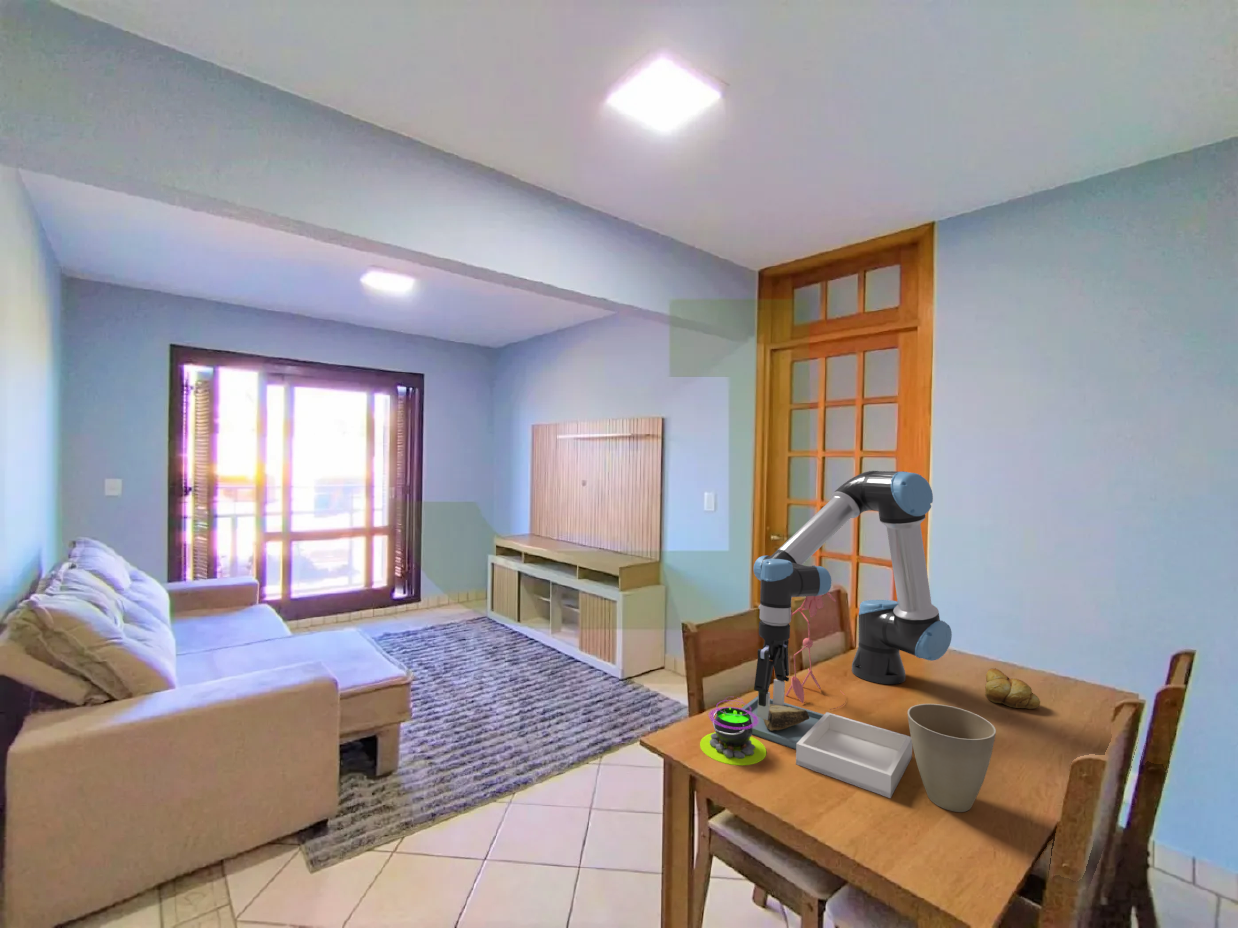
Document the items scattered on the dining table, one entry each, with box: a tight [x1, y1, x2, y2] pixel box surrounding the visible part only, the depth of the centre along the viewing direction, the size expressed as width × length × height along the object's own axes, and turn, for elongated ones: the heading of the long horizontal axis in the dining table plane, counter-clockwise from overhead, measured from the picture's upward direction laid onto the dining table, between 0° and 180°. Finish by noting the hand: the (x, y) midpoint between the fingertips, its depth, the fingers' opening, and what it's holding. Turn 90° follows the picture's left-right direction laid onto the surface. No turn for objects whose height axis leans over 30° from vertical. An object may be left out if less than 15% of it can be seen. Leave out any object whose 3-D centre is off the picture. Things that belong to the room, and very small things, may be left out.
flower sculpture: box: [785, 591, 846, 711], centre depth 156 cm, size 15×26×35 cm, turn 135°
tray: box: [740, 695, 825, 751], centre depth 141 cm, size 19×19×2 cm
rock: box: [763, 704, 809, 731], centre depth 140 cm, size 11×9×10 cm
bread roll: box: [984, 667, 1041, 710], centre depth 155 cm, size 13×10×8 cm
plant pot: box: [907, 703, 997, 813], centre depth 110 cm, size 15×15×16 cm
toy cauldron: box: [699, 696, 767, 766], centre depth 129 cm, size 15×15×11 cm
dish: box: [795, 711, 913, 799], centre depth 124 cm, size 20×19×4 cm
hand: (770, 711), depth 141 cm, fingers closed on rock, 9 cm apart
